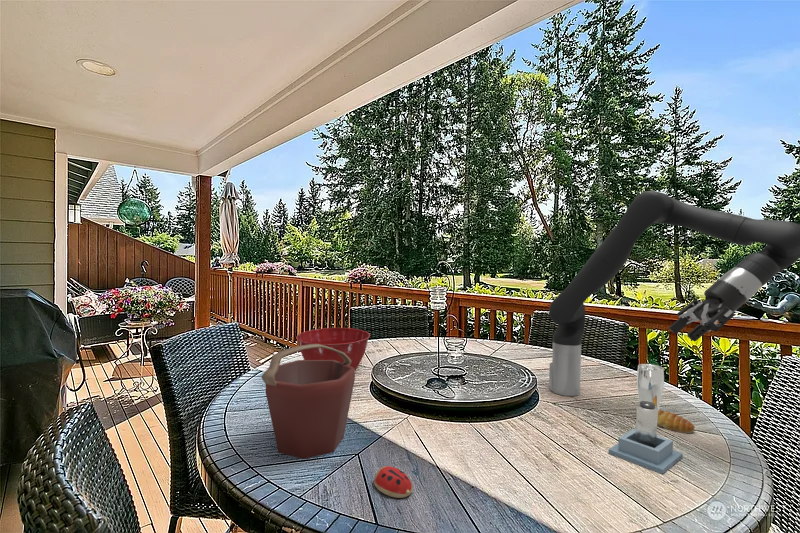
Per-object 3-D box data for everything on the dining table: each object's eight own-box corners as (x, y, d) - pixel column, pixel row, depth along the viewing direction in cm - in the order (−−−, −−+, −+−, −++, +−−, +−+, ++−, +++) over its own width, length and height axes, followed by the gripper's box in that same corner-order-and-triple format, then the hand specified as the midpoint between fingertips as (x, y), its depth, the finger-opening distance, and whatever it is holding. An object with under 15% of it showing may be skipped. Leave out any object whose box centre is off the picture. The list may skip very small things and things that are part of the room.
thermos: (629, 450, 103) (631, 403, 102) (638, 443, 107) (640, 397, 106) (653, 458, 99) (655, 409, 98) (661, 451, 103) (663, 404, 102)
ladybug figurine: (389, 473, 95) (389, 458, 95) (421, 492, 88) (421, 475, 88) (365, 485, 90) (365, 469, 90) (398, 506, 83) (398, 488, 83)
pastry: (697, 430, 117) (698, 416, 117) (689, 437, 113) (689, 423, 113) (660, 419, 125) (660, 406, 125) (651, 425, 121) (651, 412, 120)
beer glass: (666, 422, 122) (668, 371, 121) (640, 420, 124) (641, 369, 123) (657, 412, 129) (658, 364, 128) (632, 411, 130) (633, 362, 130)
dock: (608, 453, 104) (608, 437, 104) (630, 439, 111) (630, 424, 111) (662, 474, 94) (663, 456, 94) (682, 457, 102) (683, 441, 102)
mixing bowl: (366, 385, 153) (366, 343, 152) (287, 384, 154) (287, 342, 153) (372, 363, 181) (372, 327, 181) (306, 363, 182) (305, 327, 181)
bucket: (267, 473, 94) (266, 362, 93) (252, 433, 114) (251, 341, 112) (368, 449, 105) (368, 350, 104) (339, 417, 125) (338, 333, 124)
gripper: (704, 276, 111) (656, 319, 113) (741, 281, 97) (685, 329, 99) (725, 297, 111) (676, 339, 113) (765, 304, 97) (709, 352, 99)
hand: (680, 334), depth 106 cm, fingers open, 8 cm apart
